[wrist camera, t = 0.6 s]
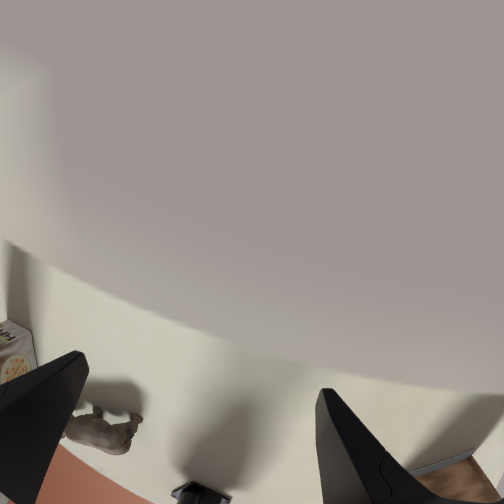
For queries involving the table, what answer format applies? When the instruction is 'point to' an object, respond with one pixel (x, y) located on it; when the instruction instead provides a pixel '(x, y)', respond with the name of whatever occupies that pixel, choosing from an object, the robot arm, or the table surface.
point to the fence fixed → (461, 482)
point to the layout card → (441, 464)
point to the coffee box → (15, 351)
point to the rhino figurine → (102, 432)
